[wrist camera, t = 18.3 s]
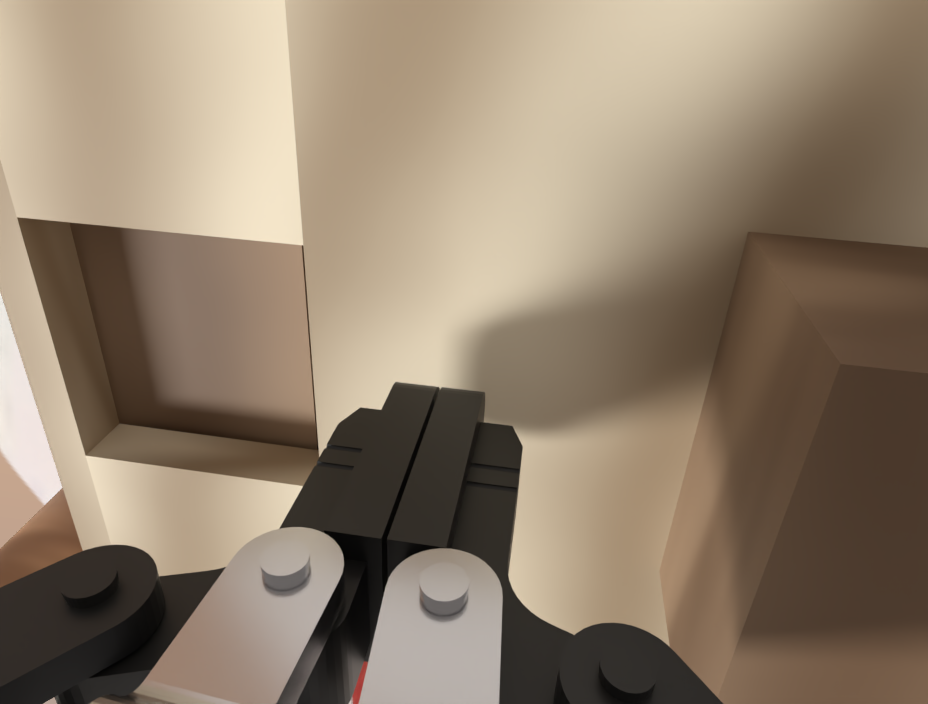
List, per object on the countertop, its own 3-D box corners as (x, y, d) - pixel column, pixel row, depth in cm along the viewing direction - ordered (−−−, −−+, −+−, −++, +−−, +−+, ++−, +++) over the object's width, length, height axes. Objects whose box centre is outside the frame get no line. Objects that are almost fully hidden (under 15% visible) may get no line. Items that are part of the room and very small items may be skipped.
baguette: (192, 433, 27) (-44, 708, 17) (206, 507, 29) (1, 794, 19) (101, 420, 28) (-184, 681, 17) (120, 494, 30) (-126, 769, 19)
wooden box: (1007, -11, 16) (1400, -12, 8) (829, 448, 23) (957, 683, 15) (234, -48, 19) (-19, -77, 11) (278, 380, 25) (144, 554, 17)
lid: (1406, 6, 8) (2361, 24, 4) (965, 684, 15) (1132, 984, 10) (-47, -65, 11) (-505, -104, 6) (123, 552, 17) (-38, 751, 13)
